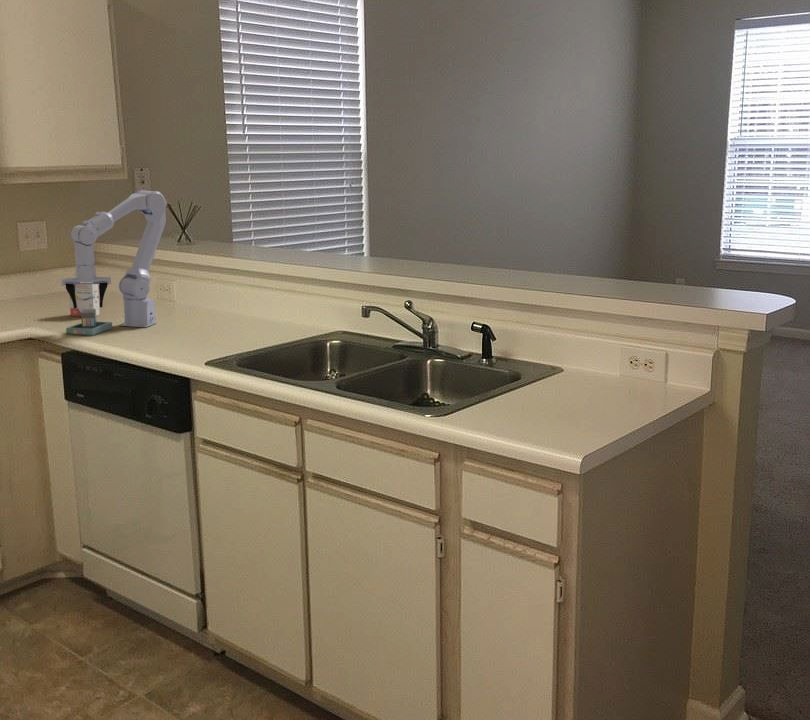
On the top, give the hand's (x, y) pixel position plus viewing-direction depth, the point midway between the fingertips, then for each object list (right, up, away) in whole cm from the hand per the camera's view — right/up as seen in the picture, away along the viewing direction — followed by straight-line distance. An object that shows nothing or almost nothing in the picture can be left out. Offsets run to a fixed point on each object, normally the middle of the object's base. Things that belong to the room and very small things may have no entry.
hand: (88, 307), depth 286 cm
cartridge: (0, -7, +2) cm, 7 cm away
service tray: (0, -7, +2) cm, 8 cm away
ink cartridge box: (-10, -2, +27) cm, 29 cm away
